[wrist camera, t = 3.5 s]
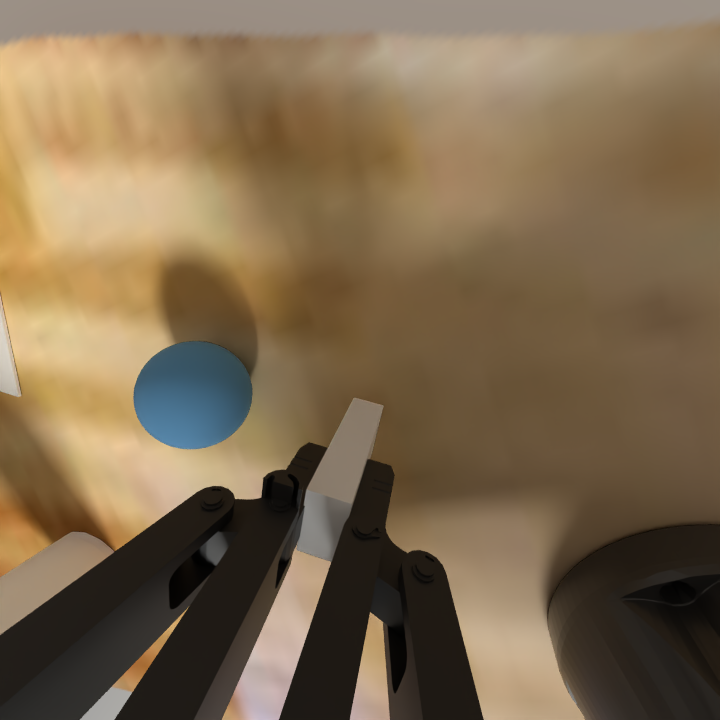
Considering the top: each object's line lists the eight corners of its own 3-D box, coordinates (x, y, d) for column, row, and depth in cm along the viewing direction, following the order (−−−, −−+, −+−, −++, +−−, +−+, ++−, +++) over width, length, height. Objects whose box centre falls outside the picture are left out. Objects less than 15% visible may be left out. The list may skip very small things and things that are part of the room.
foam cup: (27, 523, 31) (-241, 710, 19) (99, 508, 28) (-163, 718, 16) (87, 604, 33) (-117, 816, 21) (159, 597, 30) (-30, 840, 18)
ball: (273, 341, 19) (213, 380, 14) (266, 426, 21) (211, 486, 16) (184, 319, 20) (97, 348, 15) (185, 403, 22) (109, 453, 17)
